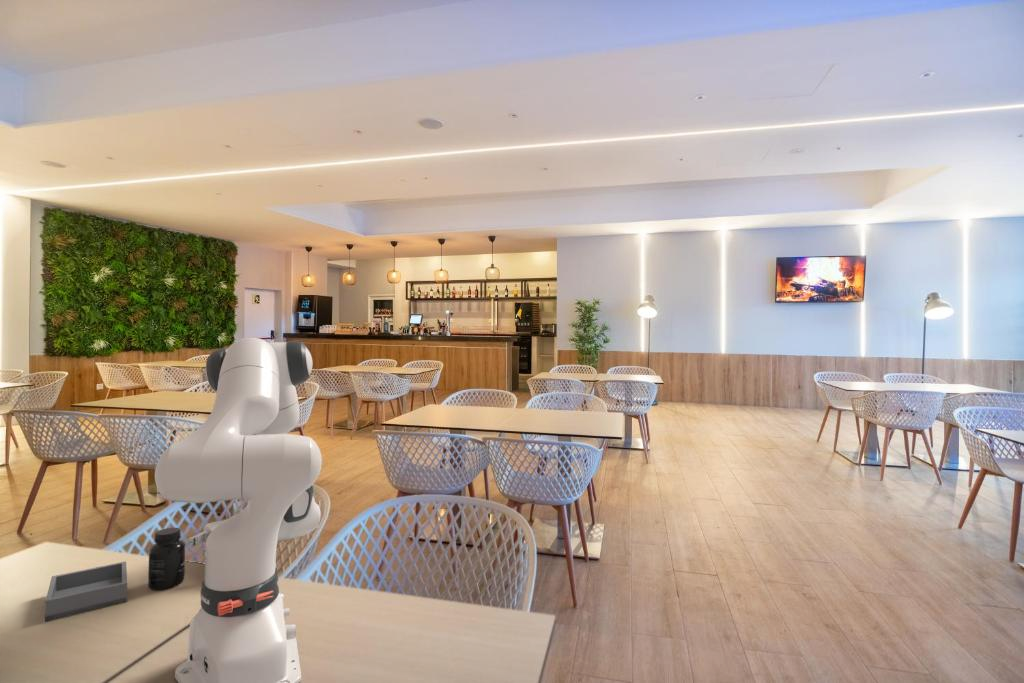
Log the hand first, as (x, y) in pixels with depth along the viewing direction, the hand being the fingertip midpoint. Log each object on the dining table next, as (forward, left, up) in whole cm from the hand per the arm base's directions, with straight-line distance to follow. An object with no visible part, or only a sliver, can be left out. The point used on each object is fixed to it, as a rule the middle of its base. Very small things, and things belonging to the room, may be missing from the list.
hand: (196, 547), depth 117 cm
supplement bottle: (-1, +6, -7) cm, 9 cm away
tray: (+1, +19, -7) cm, 20 cm away
